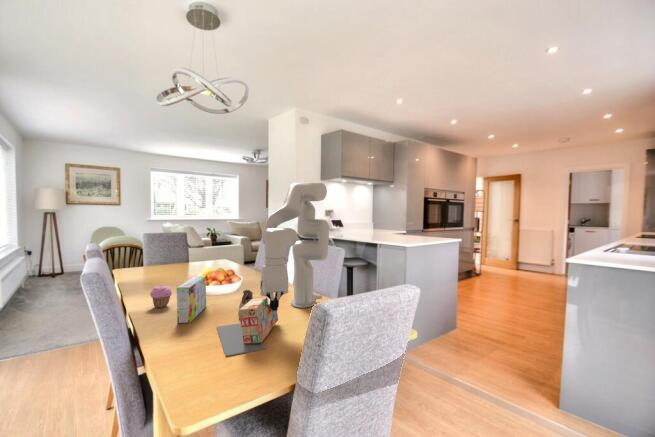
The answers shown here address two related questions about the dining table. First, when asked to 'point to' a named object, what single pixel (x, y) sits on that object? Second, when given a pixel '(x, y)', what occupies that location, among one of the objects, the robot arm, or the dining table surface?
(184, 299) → the snack box
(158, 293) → the cupcake
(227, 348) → the mat
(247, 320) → the stack of blocks
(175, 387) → the dining table surface
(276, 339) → the dining table surface
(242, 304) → the figurine
